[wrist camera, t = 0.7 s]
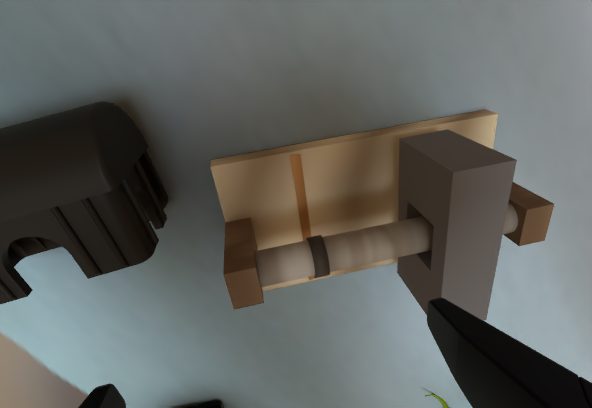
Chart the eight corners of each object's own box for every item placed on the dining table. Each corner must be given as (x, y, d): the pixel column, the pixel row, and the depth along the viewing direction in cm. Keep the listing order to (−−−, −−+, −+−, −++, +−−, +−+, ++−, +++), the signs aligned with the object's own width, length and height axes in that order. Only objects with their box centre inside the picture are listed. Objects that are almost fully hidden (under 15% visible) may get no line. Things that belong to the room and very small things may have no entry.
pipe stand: (485, 109, 22) (571, 136, 16) (468, 235, 27) (531, 289, 21) (211, 159, 20) (203, 208, 15) (244, 284, 25) (248, 356, 20)
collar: (448, 129, 20) (516, 159, 15) (436, 263, 24) (486, 319, 20) (399, 138, 19) (453, 172, 15) (397, 272, 24) (437, 331, 19)
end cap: (127, 88, 18) (75, 116, 12) (178, 201, 21) (158, 265, 15) (-59, 138, 18) (-207, 192, 12) (23, 245, 21) (-58, 328, 15)
